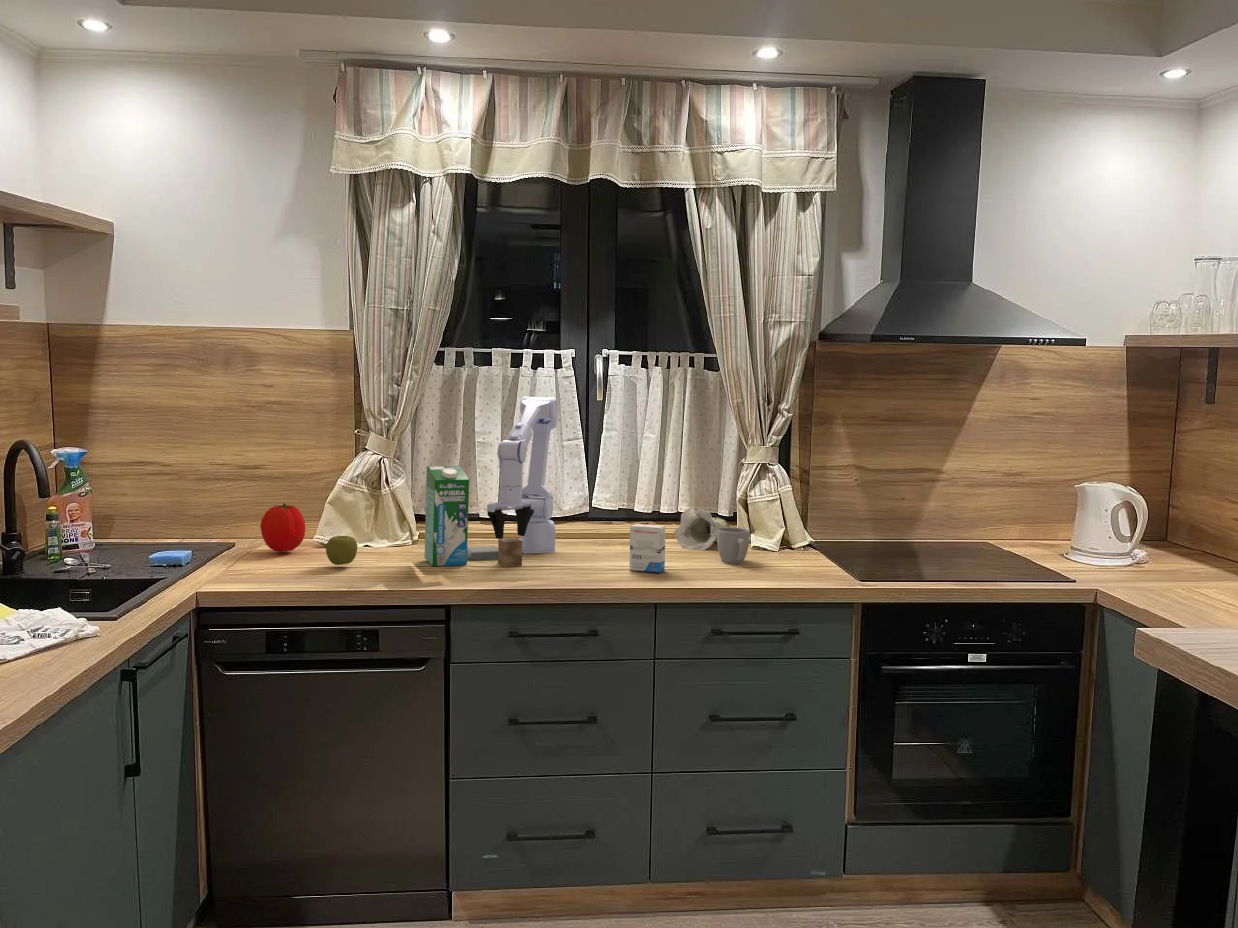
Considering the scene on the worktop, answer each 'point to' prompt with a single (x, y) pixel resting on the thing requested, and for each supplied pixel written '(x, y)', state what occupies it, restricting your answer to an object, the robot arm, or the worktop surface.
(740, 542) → the mug
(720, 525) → the wavy rim vase
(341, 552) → the apple
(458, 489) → the milk carton
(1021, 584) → the worktop surface
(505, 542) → the walnut block
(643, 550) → the ink box
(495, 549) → the coaster block
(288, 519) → the tomato
